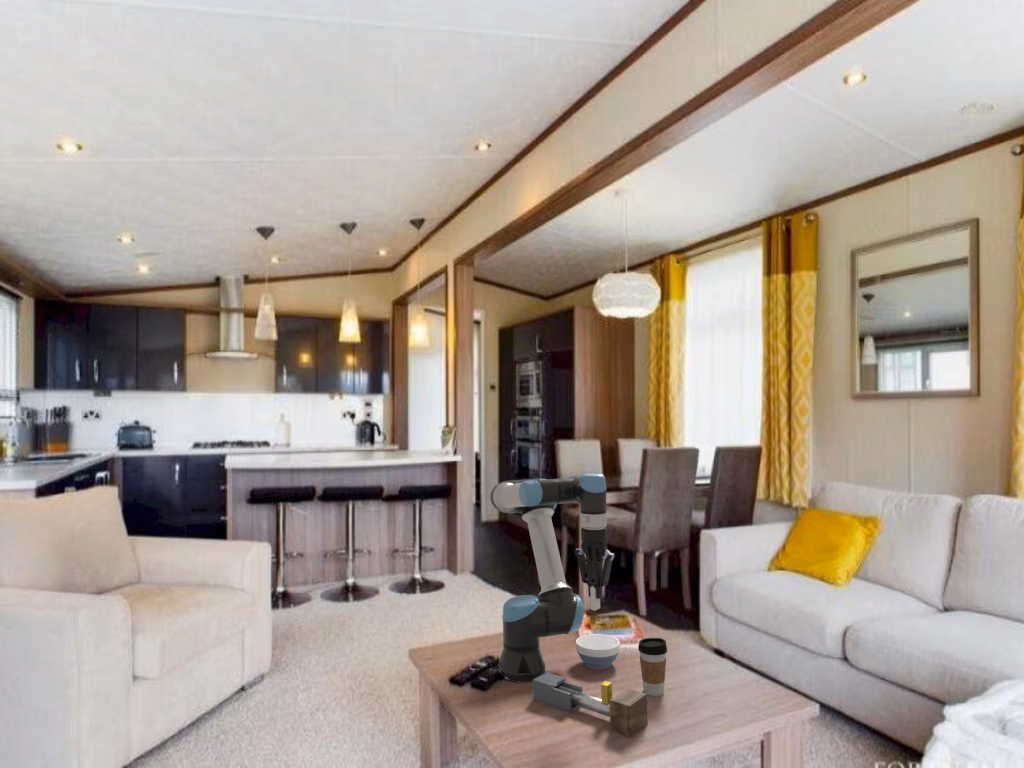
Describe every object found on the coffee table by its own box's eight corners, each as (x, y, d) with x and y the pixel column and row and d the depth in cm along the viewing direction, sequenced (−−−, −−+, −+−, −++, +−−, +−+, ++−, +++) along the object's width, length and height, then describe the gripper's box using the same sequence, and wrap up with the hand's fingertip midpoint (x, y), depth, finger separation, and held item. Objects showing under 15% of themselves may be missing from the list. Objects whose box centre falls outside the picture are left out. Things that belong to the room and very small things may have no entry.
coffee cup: (668, 699, 191) (667, 647, 191) (639, 697, 192) (637, 645, 193) (667, 686, 199) (666, 636, 199) (639, 684, 201) (638, 635, 201)
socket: (610, 730, 173) (609, 699, 174) (627, 717, 180) (627, 687, 181) (630, 737, 170) (629, 706, 170) (647, 724, 176) (646, 693, 177)
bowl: (629, 664, 217) (628, 640, 217) (602, 678, 206) (602, 653, 206) (593, 652, 227) (593, 630, 227) (566, 665, 217) (566, 642, 217)
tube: (555, 702, 188) (554, 671, 188) (563, 697, 191) (562, 666, 191) (622, 725, 174) (621, 691, 174) (630, 719, 177) (629, 686, 177)
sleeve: (533, 700, 192) (533, 679, 192) (547, 692, 197) (546, 672, 197) (569, 713, 183) (569, 691, 184) (582, 704, 188) (582, 683, 189)
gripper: (568, 526, 193) (569, 607, 193) (606, 532, 185) (607, 616, 184) (582, 522, 199) (584, 601, 198) (619, 527, 191) (621, 609, 190)
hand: (595, 608), depth 191 cm, fingers closed
